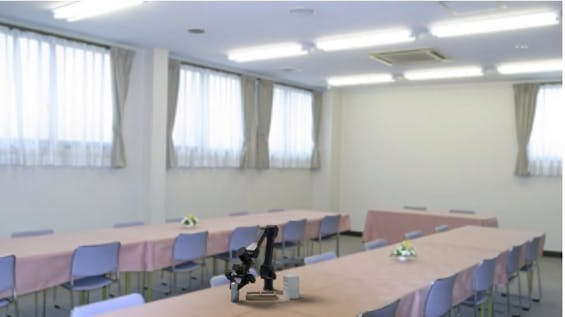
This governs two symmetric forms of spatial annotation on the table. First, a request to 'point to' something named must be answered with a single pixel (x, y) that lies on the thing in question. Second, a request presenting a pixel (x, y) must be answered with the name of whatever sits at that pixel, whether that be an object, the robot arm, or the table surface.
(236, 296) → the grey metal cylinder
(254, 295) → the wooden divided tray
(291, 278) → the supplement box
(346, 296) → the table surface
